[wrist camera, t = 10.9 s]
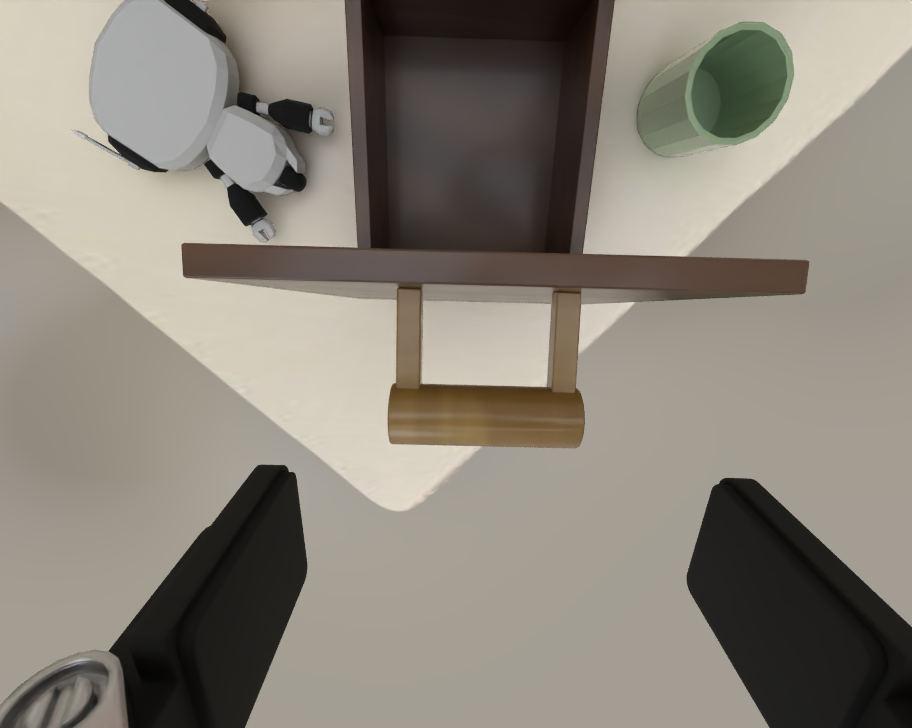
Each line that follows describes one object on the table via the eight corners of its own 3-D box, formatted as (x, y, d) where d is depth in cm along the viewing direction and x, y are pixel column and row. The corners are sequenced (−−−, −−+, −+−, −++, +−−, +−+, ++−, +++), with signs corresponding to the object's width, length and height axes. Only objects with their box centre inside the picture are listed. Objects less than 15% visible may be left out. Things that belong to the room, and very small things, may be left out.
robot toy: (351, 119, 34) (163, -27, 30) (340, 110, 30) (120, -62, 26) (279, 248, 37) (102, 133, 33) (260, 256, 33) (55, 126, 29)
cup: (730, 63, 32) (807, 23, 25) (710, 158, 34) (776, 146, 27) (644, 61, 32) (698, 19, 25) (630, 156, 34) (675, 143, 27)
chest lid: (179, 242, 10) (192, 465, 11) (811, 259, 10) (782, 479, 11) (358, 286, 28) (358, 366, 29) (579, 292, 28) (574, 372, 29)
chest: (373, 24, 31) (342, -42, 23) (575, 31, 31) (619, -33, 23) (381, 272, 37) (359, 291, 29) (550, 276, 37) (577, 297, 29)
